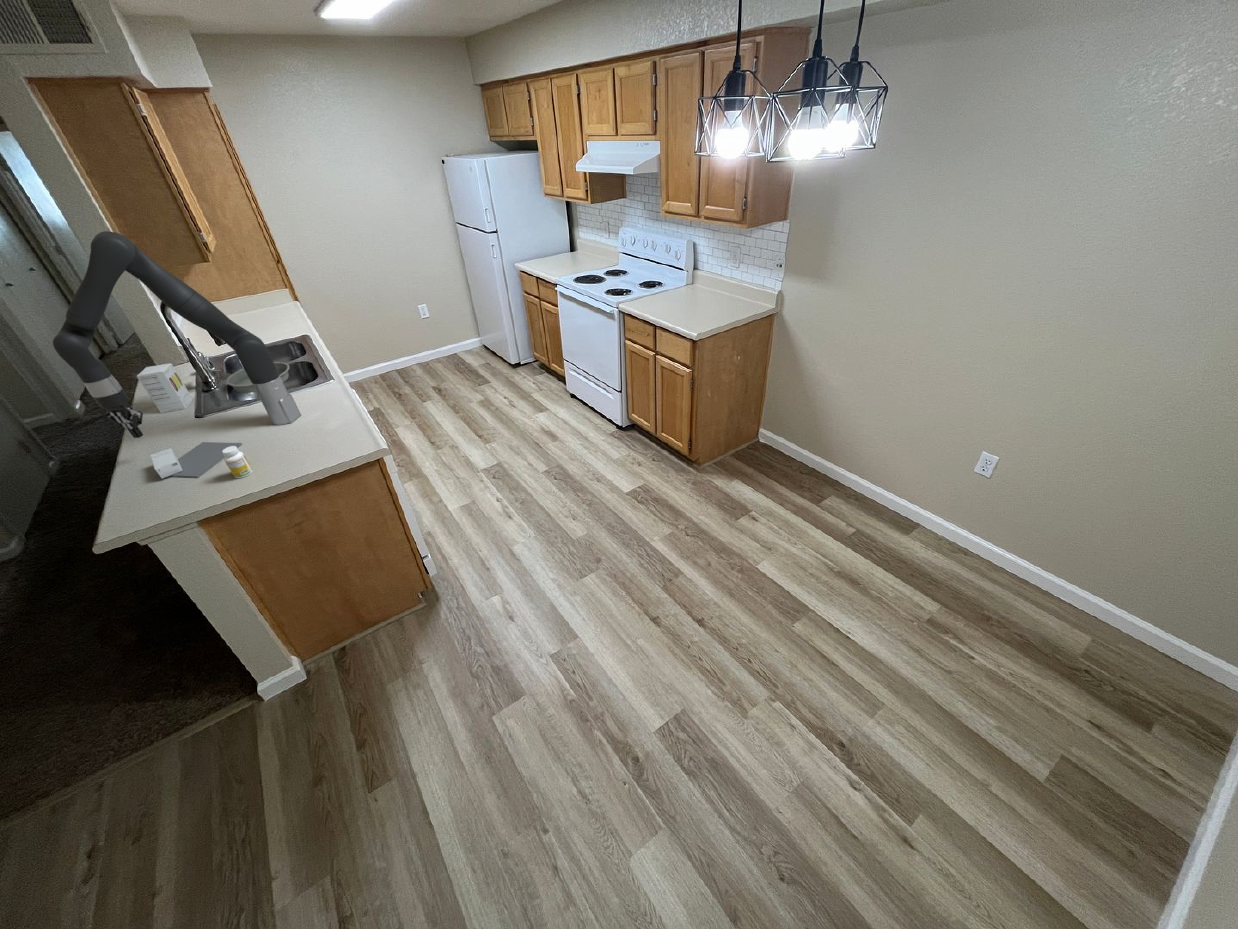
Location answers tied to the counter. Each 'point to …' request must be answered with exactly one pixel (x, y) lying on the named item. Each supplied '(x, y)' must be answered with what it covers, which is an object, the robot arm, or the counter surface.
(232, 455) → the supplement bottle
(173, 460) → the skincare box
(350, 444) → the counter surface
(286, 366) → the cake pan
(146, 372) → the supplement box
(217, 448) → the rubber mat
